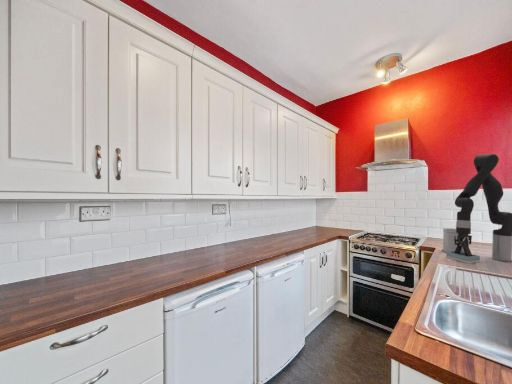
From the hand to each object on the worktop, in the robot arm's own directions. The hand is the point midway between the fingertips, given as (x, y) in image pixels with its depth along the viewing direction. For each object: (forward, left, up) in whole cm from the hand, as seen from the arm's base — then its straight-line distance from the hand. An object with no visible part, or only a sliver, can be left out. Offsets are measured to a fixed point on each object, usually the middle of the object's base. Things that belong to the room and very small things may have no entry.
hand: (462, 250), depth 158 cm
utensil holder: (-16, -15, -6) cm, 22 cm away
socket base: (0, 0, -6) cm, 6 cm away
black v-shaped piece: (0, 0, -4) cm, 4 cm away
